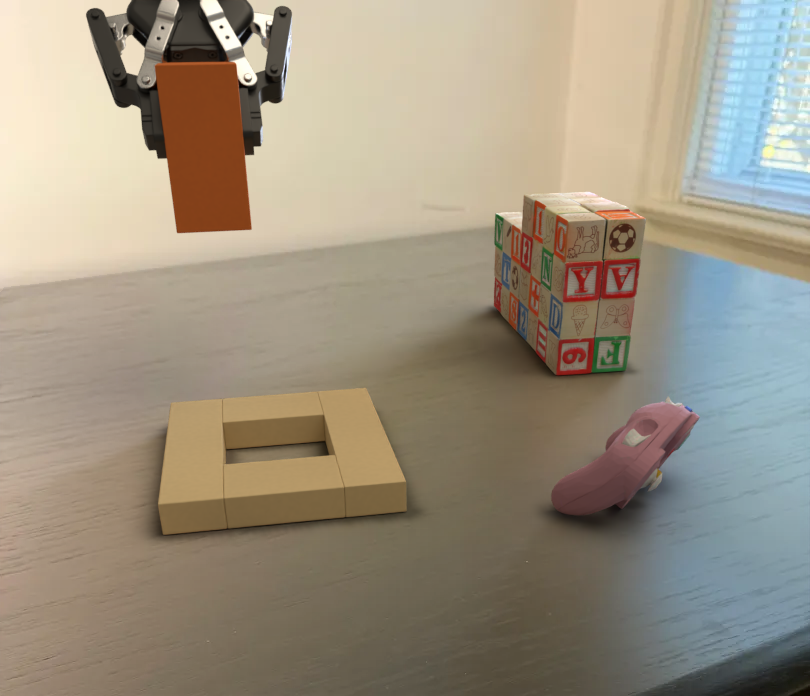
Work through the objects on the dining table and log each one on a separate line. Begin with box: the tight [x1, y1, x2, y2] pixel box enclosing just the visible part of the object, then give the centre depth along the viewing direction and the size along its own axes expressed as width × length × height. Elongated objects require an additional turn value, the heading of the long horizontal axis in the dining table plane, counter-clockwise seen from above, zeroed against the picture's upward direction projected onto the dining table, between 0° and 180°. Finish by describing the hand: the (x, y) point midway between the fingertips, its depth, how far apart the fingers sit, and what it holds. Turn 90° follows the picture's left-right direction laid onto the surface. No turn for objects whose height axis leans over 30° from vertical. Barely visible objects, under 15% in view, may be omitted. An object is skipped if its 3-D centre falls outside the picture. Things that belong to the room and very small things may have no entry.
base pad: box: [157, 387, 408, 536], centre depth 57 cm, size 14×16×2 cm
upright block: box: [155, 62, 253, 234], centre depth 60 cm, size 5×5×10 cm
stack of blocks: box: [493, 191, 647, 376], centre depth 79 cm, size 21×6×12 cm, turn 9°
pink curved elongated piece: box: [550, 395, 700, 516], centre depth 52 cm, size 10×5×7 cm, turn 147°
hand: (204, 147), depth 58 cm, fingers closed on upright block, 5 cm apart
